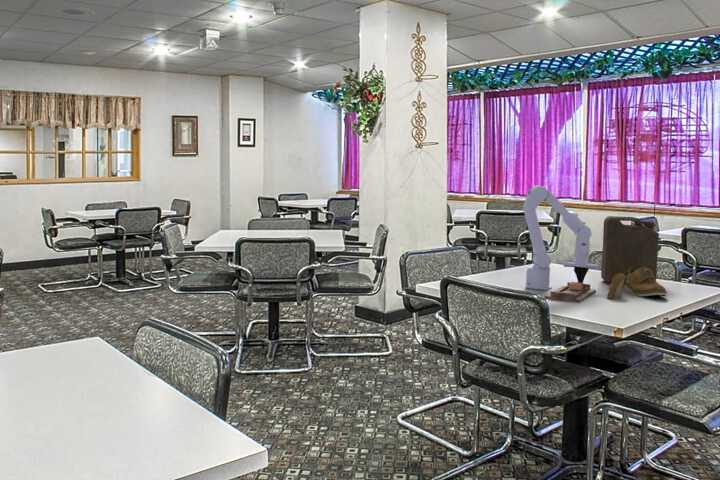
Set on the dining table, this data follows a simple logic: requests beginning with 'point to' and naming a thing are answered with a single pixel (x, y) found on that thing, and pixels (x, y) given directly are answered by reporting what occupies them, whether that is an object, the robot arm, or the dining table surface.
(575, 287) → the slider knob
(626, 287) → the oxford shoe
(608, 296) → the rock
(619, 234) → the container
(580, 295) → the slider track
